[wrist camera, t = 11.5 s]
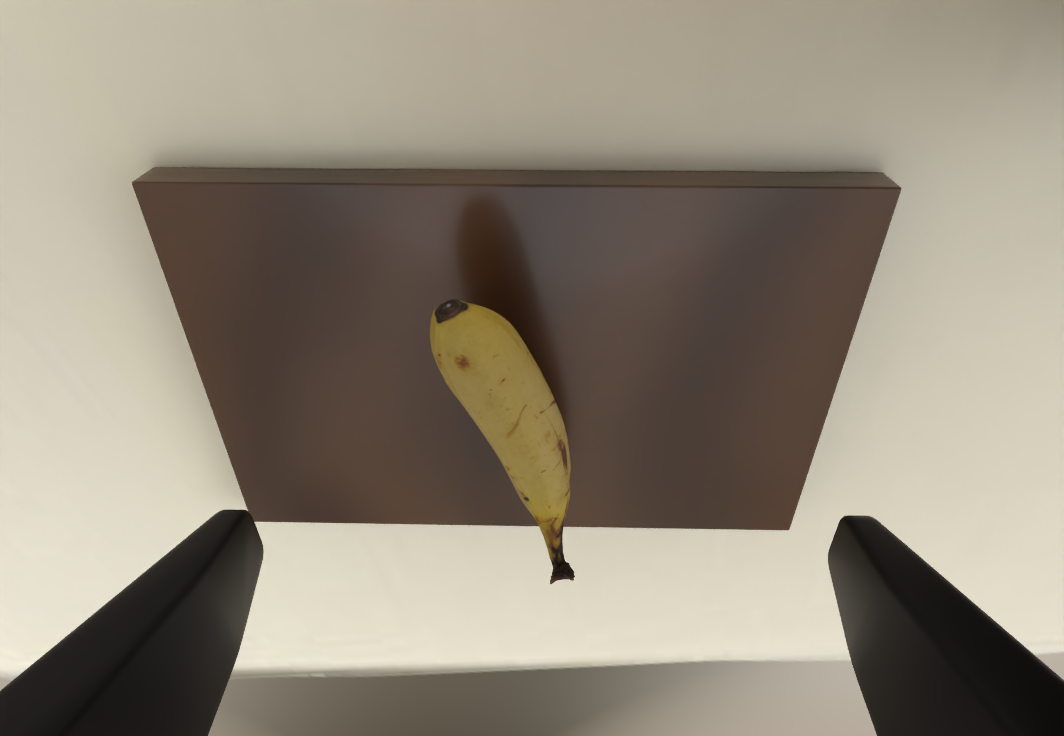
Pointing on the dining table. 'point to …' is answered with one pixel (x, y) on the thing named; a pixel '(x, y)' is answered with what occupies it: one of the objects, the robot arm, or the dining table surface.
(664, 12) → the dining table surface
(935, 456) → the dining table surface
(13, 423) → the dining table surface
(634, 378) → the walnut board
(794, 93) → the dining table surface
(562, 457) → the banana
